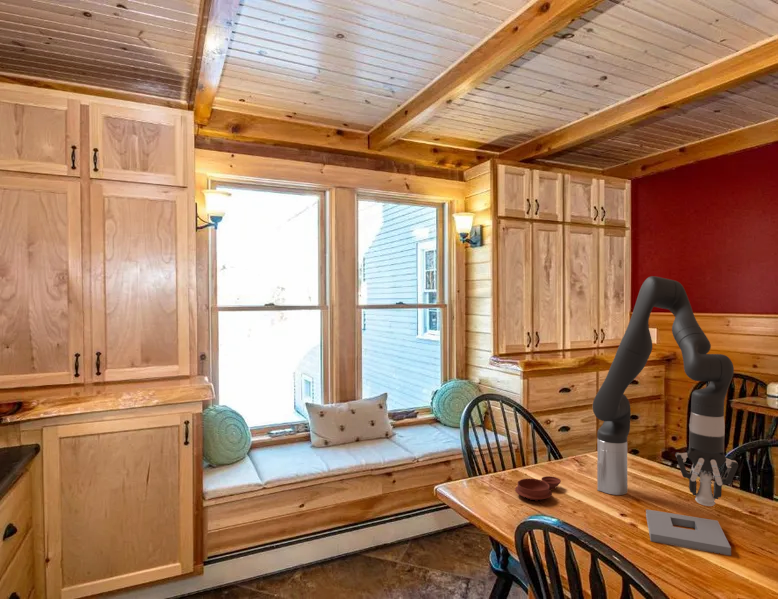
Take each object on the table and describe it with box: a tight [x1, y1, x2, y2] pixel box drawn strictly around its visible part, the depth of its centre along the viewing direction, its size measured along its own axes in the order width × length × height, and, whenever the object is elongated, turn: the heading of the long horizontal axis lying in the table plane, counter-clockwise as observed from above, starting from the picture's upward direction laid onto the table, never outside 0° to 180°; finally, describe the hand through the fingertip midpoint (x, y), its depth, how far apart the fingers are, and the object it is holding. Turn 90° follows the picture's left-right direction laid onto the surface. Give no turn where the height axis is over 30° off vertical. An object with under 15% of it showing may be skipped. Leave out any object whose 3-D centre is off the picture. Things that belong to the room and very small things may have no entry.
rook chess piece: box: [694, 470, 716, 507], centre depth 123 cm, size 4×4×8 cm
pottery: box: [514, 475, 562, 502], centre depth 159 cm, size 12×20×4 cm, turn 131°
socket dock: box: [645, 509, 732, 556], centre depth 132 cm, size 18×16×2 cm
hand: (705, 495), depth 123 cm, fingers closed on rook chess piece, 4 cm apart
